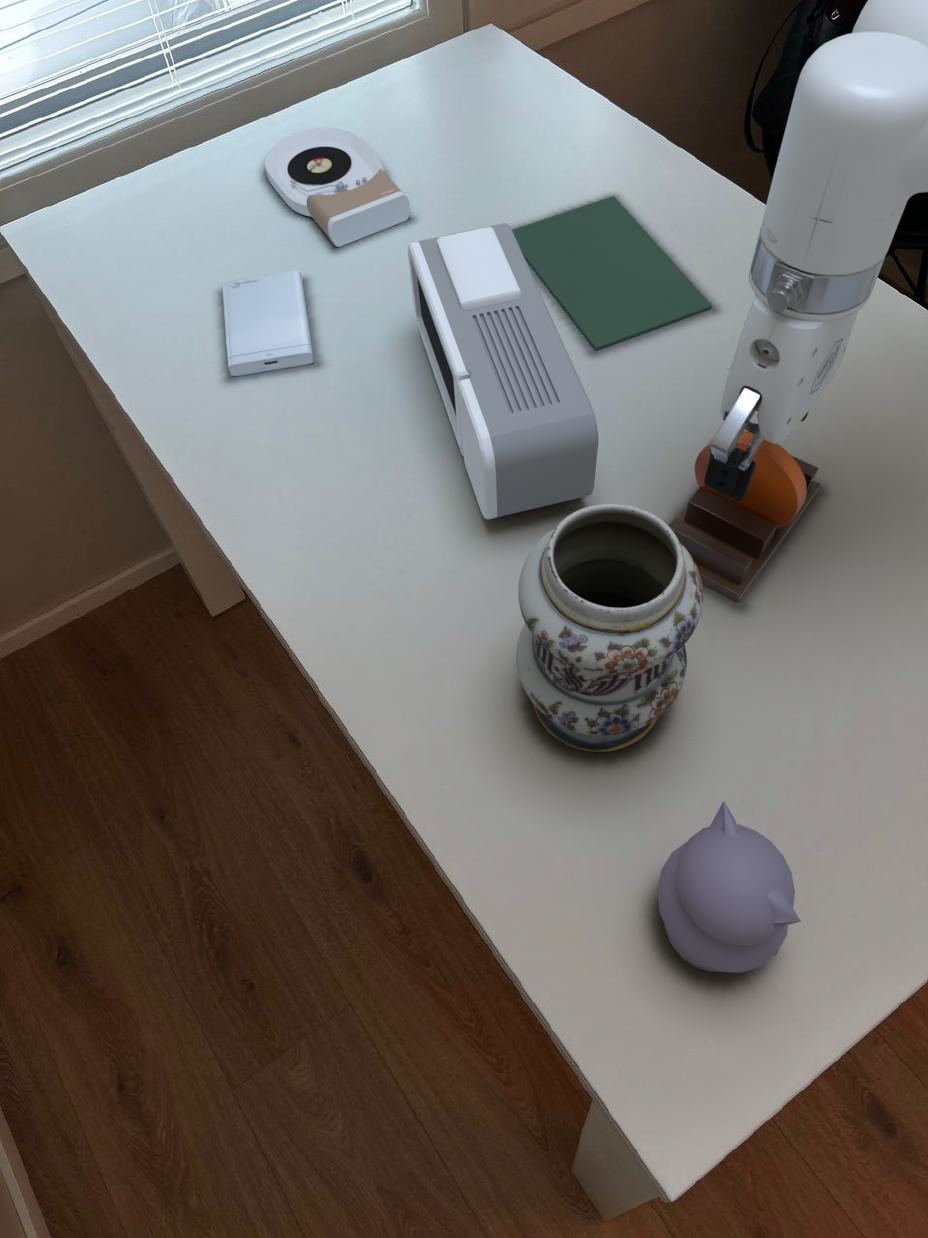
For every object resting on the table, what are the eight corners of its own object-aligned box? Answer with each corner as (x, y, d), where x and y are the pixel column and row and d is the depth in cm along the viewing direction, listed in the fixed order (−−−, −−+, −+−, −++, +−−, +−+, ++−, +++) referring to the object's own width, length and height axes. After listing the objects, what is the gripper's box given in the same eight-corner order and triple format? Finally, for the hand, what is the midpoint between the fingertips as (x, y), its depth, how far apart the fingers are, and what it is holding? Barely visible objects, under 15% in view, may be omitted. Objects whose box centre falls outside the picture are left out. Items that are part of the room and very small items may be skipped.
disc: (695, 486, 83) (713, 411, 75) (791, 534, 79) (820, 462, 72) (686, 497, 82) (703, 423, 74) (783, 546, 79) (811, 474, 71)
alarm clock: (416, 328, 96) (403, 224, 86) (505, 308, 97) (504, 203, 87) (487, 539, 82) (483, 444, 72) (592, 514, 83) (602, 417, 73)
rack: (734, 451, 86) (742, 423, 83) (818, 491, 83) (829, 464, 80) (651, 556, 80) (656, 530, 77) (737, 602, 77) (746, 578, 74)
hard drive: (221, 281, 99) (226, 364, 93) (299, 268, 100) (311, 350, 93) (225, 294, 101) (231, 377, 94) (303, 282, 101) (314, 363, 94)
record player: (319, 227, 101) (246, 136, 110) (324, 252, 103) (252, 162, 113) (417, 188, 103) (337, 103, 113) (420, 214, 106) (341, 129, 116)
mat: (711, 308, 96) (712, 305, 95) (595, 350, 93) (596, 347, 93) (613, 198, 106) (613, 195, 105) (506, 234, 103) (506, 231, 103)
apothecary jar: (664, 623, 77) (699, 475, 62) (686, 763, 70) (731, 636, 55) (513, 629, 77) (510, 484, 62) (520, 770, 71) (520, 646, 56)
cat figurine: (626, 890, 66) (645, 829, 56) (724, 841, 67) (760, 773, 57) (694, 1010, 61) (728, 968, 51) (797, 955, 63) (850, 904, 53)
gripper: (806, 368, 54) (744, 548, 69) (932, 210, 61) (851, 404, 76) (690, 316, 57) (653, 500, 72) (823, 171, 64) (765, 365, 79)
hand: (755, 450), depth 74 cm, fingers open, 9 cm apart
